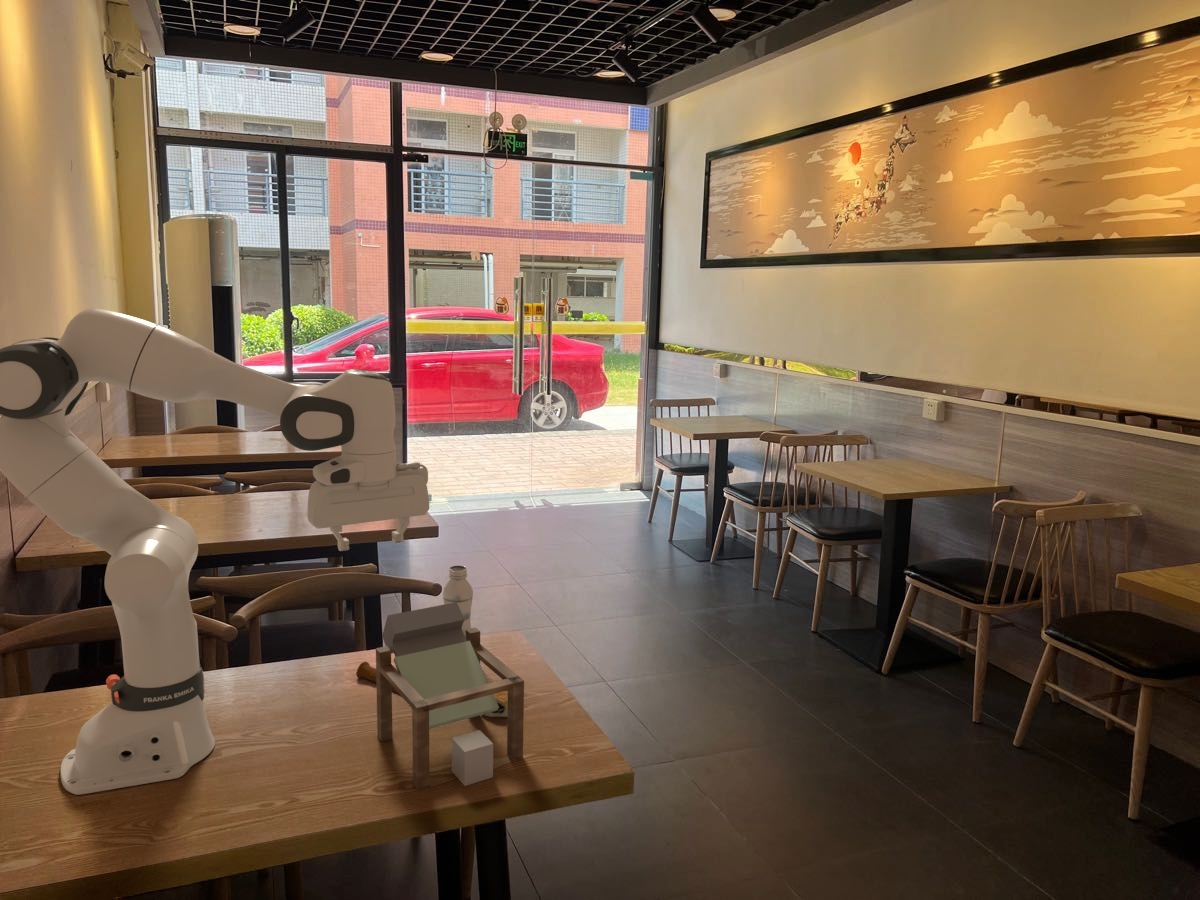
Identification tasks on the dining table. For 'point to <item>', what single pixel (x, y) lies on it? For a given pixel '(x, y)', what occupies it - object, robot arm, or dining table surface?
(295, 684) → the dining table surface
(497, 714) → the pastry
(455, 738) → the light grey block
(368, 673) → the primitive tool
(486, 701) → the trapdoor
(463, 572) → the plastic bottle
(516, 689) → the stand
